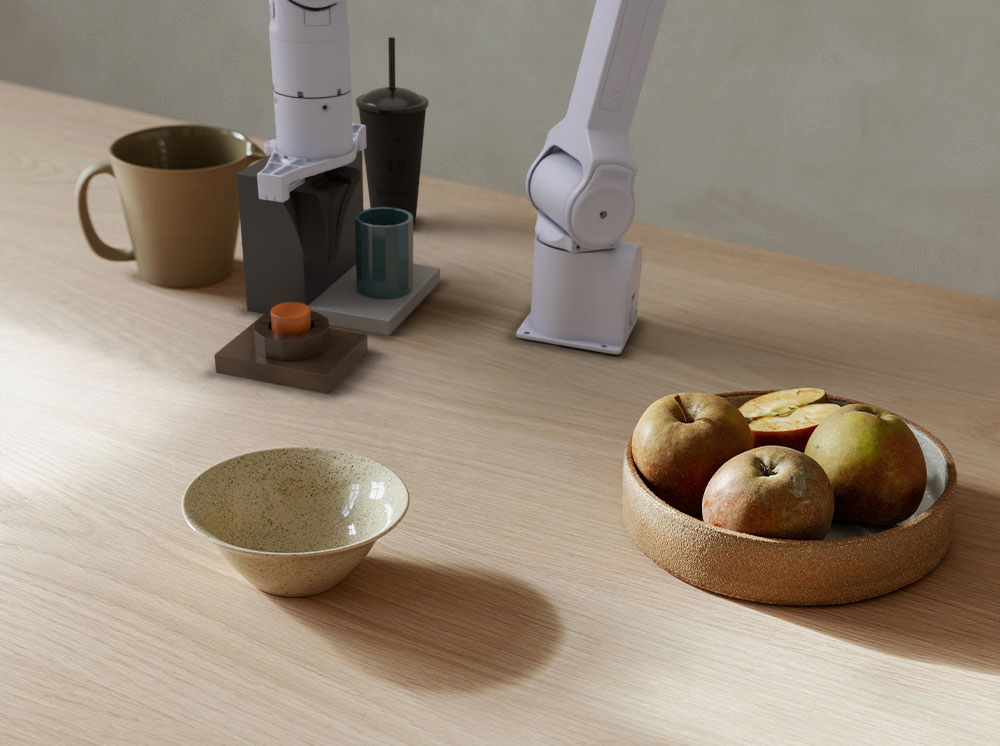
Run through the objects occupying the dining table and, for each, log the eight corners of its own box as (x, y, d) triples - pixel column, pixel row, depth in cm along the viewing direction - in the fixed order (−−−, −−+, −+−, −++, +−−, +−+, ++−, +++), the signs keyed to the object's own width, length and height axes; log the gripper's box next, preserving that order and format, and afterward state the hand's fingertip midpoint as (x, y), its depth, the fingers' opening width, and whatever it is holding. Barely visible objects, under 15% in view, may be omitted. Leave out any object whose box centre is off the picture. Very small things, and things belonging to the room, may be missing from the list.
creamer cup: (421, 281, 104) (421, 211, 101) (399, 303, 100) (399, 230, 97) (370, 273, 106) (369, 203, 102) (347, 294, 101) (345, 222, 98)
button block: (368, 352, 94) (367, 314, 93) (327, 394, 88) (325, 355, 86) (262, 333, 97) (260, 296, 95) (215, 372, 90) (212, 334, 89)
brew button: (317, 324, 92) (317, 305, 91) (300, 340, 89) (299, 320, 88) (283, 318, 93) (282, 299, 92) (264, 333, 90) (263, 314, 89)
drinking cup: (349, 215, 124) (344, 32, 114) (413, 207, 127) (413, 28, 117) (372, 238, 118) (368, 47, 108) (438, 230, 121) (440, 43, 111)
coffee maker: (440, 282, 108) (441, 152, 102) (389, 336, 97) (387, 195, 91) (310, 261, 112) (304, 134, 106) (246, 311, 101) (236, 173, 95)
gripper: (307, 63, 89) (315, 223, 95) (213, 106, 76) (229, 286, 83) (388, 72, 87) (391, 234, 93) (305, 117, 75) (314, 300, 81)
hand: (320, 260), depth 88 cm, fingers closed
